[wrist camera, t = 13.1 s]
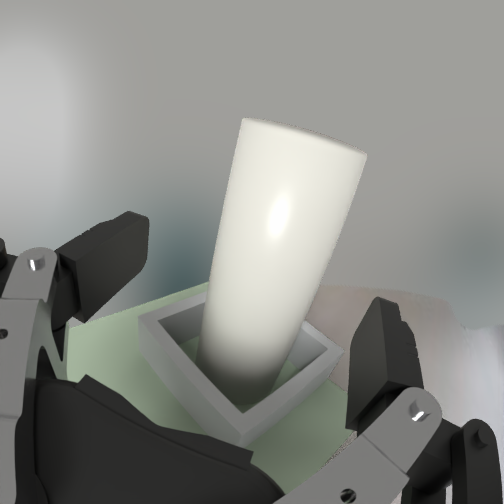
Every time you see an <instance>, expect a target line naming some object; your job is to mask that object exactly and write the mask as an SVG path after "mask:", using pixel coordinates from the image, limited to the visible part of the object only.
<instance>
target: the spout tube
mask: <svg viewBox="0 0 504 504" xmlns="http://www.w3.org/2000/svg"><path fill="white" fill-rule="evenodd" d="M367 156H368V155H367V154H366V153H365V152H364V151H362V150H360V149H358V148H356V147H354V146H352V145H350V144H347V143H345V142H342V141H340V140H337V139H334V138H332V137H329V136H326V135H323V134H320V133H317V132H314V131H311V130H307V129H304V128H300V127H297V126H293V125H288V124H284V123H280V122H275V121H270V120H264V119H257V118H243V119H242V123H241V127H240V132H239V136H238V141H237V146H236V150H235V154H234V159H233V164H232V168H231V172H230V177H229V182H228V187H227V192H226V196H225V201H224V206H223V211H222V216H221V221H220V226H219V231H218V236H217V241H216V246H215V252H214V257H213V262H212V268H211V273H210V278H209V284H208V290H207V295H206V301H205V307H204V312H203V318H202V324H201V330H200V336H199V342H198V349H197V355H196V361H195V365H196V366H197V367H198V368H199V370H200V371H201V372H202V373H203V374H204V375H205V376H206V377H207V378H208V379H209V380H210V381H211V382H212V383H213V385H214V386H215V387H216V388H217V389H218V390H219V391H220V392H221V393H222V394H223V395H224V396H225V397H226V398H227V399H228V400H229V401H230V402H231V403H232V404H235V405H246V404H251V403H255V402H257V401H259V400H261V399H263V398H264V397H265V396H267V395H268V394H269V392H270V391H271V389H272V388H273V386H274V384H275V382H276V380H277V378H278V375H279V373H280V371H281V369H282V367H283V365H284V363H285V361H286V359H287V357H288V355H289V353H290V351H291V348H292V346H293V344H294V342H295V340H296V338H297V335H298V333H299V331H300V329H301V327H302V324H303V322H304V320H305V318H306V315H307V313H308V311H309V309H310V306H311V304H312V302H313V299H314V297H315V295H316V292H317V290H318V288H319V285H320V283H321V280H322V278H323V275H324V273H325V271H326V268H327V266H328V263H329V261H330V258H331V256H332V253H333V251H334V248H335V246H336V243H337V240H338V238H339V235H340V233H341V230H342V228H343V225H344V222H345V220H346V217H347V214H348V211H349V209H350V206H351V203H352V200H353V197H354V195H355V192H356V189H357V186H358V183H359V180H360V177H361V175H362V172H363V169H364V165H365V163H366V160H367Z"/></svg>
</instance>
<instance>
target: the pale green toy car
mask: <svg viewBox="0 0 504 504" xmlns="http://www.w3.org/2000/svg"><path fill="white" fill-rule="evenodd" d="M208 284H209V282H206V283H203V284H201V285H198V286H195V287H192V288H189V289H186V290H183V291H180V292H177V293H174V294H171V295H168V296H165V297H162V298H159V299H157V300H154V301H151V302H148V303H145V304H142V305H139V306H136V307H133V308H130V309H127V310H124V311H121V312H118V313H116V314H112V315H109V316H106V317H103V318H100V319H97V320H94V321H91V322H88V323H85V324H82V325H79V326H76V327H73V328H69V336H68V351H67V377H68V380H69V381H73V382H77V383H78V382H79V381H80V380H81V379H82V378H83V376H84V375H85V374H87V375H89V376H90V377H92V378H94V379H95V380H97V381H99V382H100V383H102V384H104V385H105V386H107V387H109V388H110V389H112V390H114V391H116V392H118V393H119V394H121V395H122V396H123V397H124V398H125V399H127V400H128V401H129V402H130V403H131V404H132V405H133V406H134V407H136V408H137V409H138V410H139V411H140V412H141V413H143V414H144V415H145V416H146V417H147V418H149V419H150V420H151V421H152V422H154V423H155V424H157V425H159V426H162V427H167V428H171V429H176V430H181V431H186V432H191V433H197V434H203V435H208V436H211V437H214V438H216V439H219V440H222V441H224V442H227V443H230V444H233V445H236V446H238V447H241V448H244V449H247V450H251V451H254V453H253V456H252V459H251V462H250V463H252V464H253V465H255V466H257V467H258V468H260V469H261V470H262V471H264V472H265V473H267V474H268V475H269V476H270V477H271V478H272V479H273V480H274V481H275V482H276V483H277V484H278V485H279V486H280V488H281V489H282V490H283V492H284V493H285V495H286V494H288V493H289V492H291V491H292V490H293V489H295V488H296V487H298V486H299V485H300V484H302V483H303V482H304V481H306V480H307V479H308V478H310V477H311V476H312V475H314V474H315V473H316V472H317V471H318V470H319V469H320V468H321V467H322V466H323V465H324V464H325V463H326V462H327V461H328V460H329V459H330V458H331V456H332V455H333V454H334V453H335V452H336V451H337V450H338V449H339V448H340V446H341V445H342V444H343V443H344V442H345V441H346V439H347V438H348V437H349V436H350V435H351V433H352V432H353V431H354V430H349V429H345V423H346V412H347V400H348V394H347V393H346V392H345V391H343V390H342V389H341V388H339V387H338V386H337V385H336V384H334V383H333V382H332V381H331V380H329V379H328V377H329V375H330V374H331V372H332V371H333V369H334V368H335V366H336V364H337V363H338V361H339V360H340V358H341V356H342V355H343V353H344V352H345V350H344V349H342V348H341V347H340V346H338V345H337V344H336V343H334V342H333V341H332V340H330V339H329V338H328V337H326V336H325V335H324V334H322V333H321V332H320V331H318V330H317V329H316V328H314V327H313V326H312V325H310V324H309V323H308V322H306V321H305V320H304V322H303V324H302V327H301V329H300V331H299V333H298V335H297V338H296V340H295V342H294V344H293V346H292V348H291V351H290V353H289V355H288V357H287V359H286V361H285V363H284V365H283V367H282V369H281V371H280V373H279V375H278V378H277V380H276V382H275V384H274V386H273V388H272V389H271V391H270V392H269V394H268V395H267V396H265V397H264V398H263V399H261V400H259V401H257V402H255V403H251V404H246V405H235V404H232V403H231V402H230V401H229V400H228V399H227V398H226V397H225V396H224V395H223V394H222V393H221V392H220V391H219V390H218V389H217V388H216V387H215V386H214V385H213V383H212V382H211V381H210V380H209V379H208V378H207V377H206V376H205V375H204V374H203V373H202V372H201V371H200V370H199V368H198V367H197V366H196V365H195V361H196V355H197V349H198V342H199V336H200V330H201V324H202V318H203V312H204V307H205V301H206V295H207V290H208Z"/></svg>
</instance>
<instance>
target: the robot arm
mask: <svg viewBox="0 0 504 504" xmlns="http://www.w3.org/2000/svg"><path fill="white" fill-rule="evenodd" d="M148 236H149V219H148V218H147V217H146V216H142V215H140V214H137V213H134V212H131V211H127V212H125V213H123V214H122V215H120V216H118V217H116V218H115V219H113V220H109V221H105V222H102V223H99V224H97V225H96V226H94V227H92V228H90V230H87V231H85V232H84V233H82V235H79V236H77V237H75V238H74V239H72V240H71V241H69V242H67V243H66V244H64V245H63V246H61V247H59V248H58V249H56V250H55V251H53V250H51V249H48V248H42V247H39V248H32V249H29V250H26V251H24V252H23V253H21V254H20V255H19V256H14V255H10V254H7V253H6V248H5V243H4V240H3V239H1V238H0V504H391V503H392V501H393V500H394V499H395V498H396V497H397V495H398V494H399V493H400V492H401V490H402V497H401V504H446V487H448V486H450V485H451V484H452V504H503V498H502V482H501V472H500V463H499V455H498V448H497V442H496V437H495V434H494V432H493V431H492V429H491V428H490V426H489V425H488V424H487V423H485V422H484V421H482V420H479V419H472V420H470V421H468V422H467V423H466V424H465V425H464V426H463V427H461V428H460V427H458V426H456V425H454V424H452V423H450V422H449V421H447V420H445V419H443V418H442V411H441V407H440V405H439V403H438V401H437V400H436V399H435V397H434V396H433V395H431V394H430V393H429V392H427V391H426V390H424V385H423V379H422V374H421V368H420V363H419V358H417V357H418V352H417V348H416V343H415V338H414V334H413V332H412V331H411V329H410V328H409V326H408V324H407V323H406V322H404V321H401V316H400V311H399V306H398V304H397V303H394V302H391V301H389V300H386V299H383V298H380V297H376V298H375V299H374V300H373V301H372V303H371V305H370V307H369V309H368V310H367V312H366V314H365V316H364V318H363V319H362V321H361V323H360V325H359V326H358V328H357V330H356V332H355V334H354V336H353V339H352V342H351V347H350V366H349V385H348V400H347V412H346V423H345V429H349V430H354V431H357V438H356V439H355V440H354V441H353V442H352V443H351V444H350V445H349V446H348V447H346V448H345V449H344V450H343V451H342V452H341V453H340V454H338V455H337V456H336V457H335V458H334V459H332V460H331V461H330V462H329V463H328V464H326V465H325V466H324V467H323V468H321V469H320V470H319V471H318V472H316V473H315V474H314V475H312V476H311V477H310V478H308V479H307V480H306V481H304V482H303V483H302V484H300V485H299V486H298V487H296V488H295V489H293V490H292V491H291V492H289V493H288V494H286V495H285V493H284V492H283V490H282V489H281V488H280V486H279V485H278V484H277V483H276V482H275V481H274V480H273V479H272V478H271V477H270V476H269V475H268V474H267V473H265V472H264V471H262V470H261V469H260V468H258V467H257V466H255V465H253V464H252V463H250V462H251V459H252V456H253V453H254V451H251V450H247V449H244V448H241V447H238V446H236V445H233V444H230V443H227V442H224V441H222V440H219V439H216V438H214V437H211V436H208V435H203V434H197V433H191V432H186V431H181V430H176V429H171V428H167V427H162V426H159V425H157V424H155V423H154V422H152V421H151V420H150V419H149V418H147V417H146V416H145V415H144V414H143V413H141V412H140V411H139V410H138V409H137V408H136V407H134V406H133V405H132V404H131V403H130V402H129V401H128V400H127V399H125V398H124V397H123V396H122V395H121V394H119V393H118V392H116V391H114V390H112V389H110V388H109V387H107V386H105V385H104V384H102V383H100V382H99V381H97V380H95V379H94V378H92V377H90V376H89V375H87V374H85V375H84V376H83V378H82V379H81V380H80V381H79V382H78V383H77V382H73V381H69V380H68V377H67V351H68V336H69V323H68V320H69V319H70V318H71V317H72V316H73V317H74V318H76V319H78V320H79V321H81V322H83V323H85V322H87V321H88V320H89V319H90V318H91V317H92V316H93V315H94V314H95V313H96V312H97V311H98V310H99V309H100V308H101V307H102V306H103V305H104V304H106V303H107V302H108V301H109V300H110V299H111V298H112V297H113V296H114V295H115V294H116V293H117V292H118V291H120V290H121V289H122V288H123V287H124V286H125V285H126V284H127V283H128V282H129V281H130V280H132V279H133V278H134V277H135V276H136V275H137V274H138V273H139V272H140V271H141V270H142V269H143V267H144V265H145V263H146V260H147V252H148Z"/></svg>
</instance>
